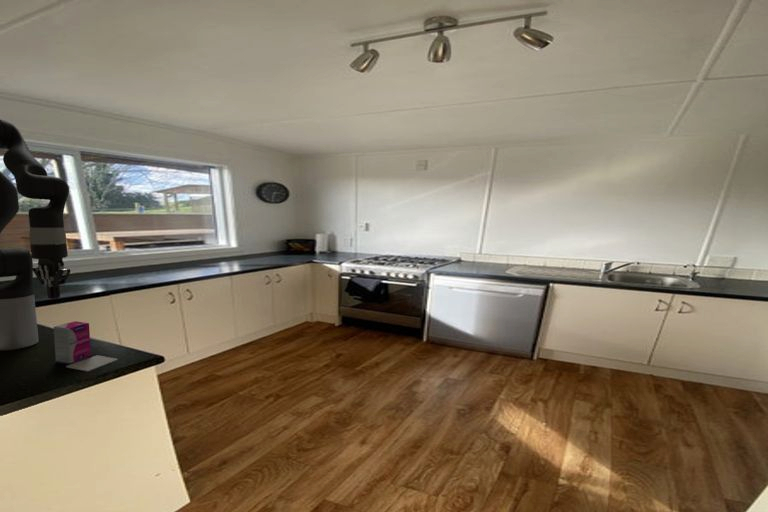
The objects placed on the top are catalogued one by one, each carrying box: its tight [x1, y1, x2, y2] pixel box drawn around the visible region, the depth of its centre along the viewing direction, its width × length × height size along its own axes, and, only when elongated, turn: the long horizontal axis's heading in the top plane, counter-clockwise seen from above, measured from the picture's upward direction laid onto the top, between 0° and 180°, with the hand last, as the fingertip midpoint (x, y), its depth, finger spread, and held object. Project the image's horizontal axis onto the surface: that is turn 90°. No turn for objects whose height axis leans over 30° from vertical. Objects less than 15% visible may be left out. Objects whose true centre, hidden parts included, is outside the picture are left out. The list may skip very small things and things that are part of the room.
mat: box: [65, 355, 119, 373], centre depth 93 cm, size 9×8×1 cm
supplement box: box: [53, 321, 92, 366], centre depth 95 cm, size 6×6×12 cm
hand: (54, 298), depth 95 cm, fingers closed
